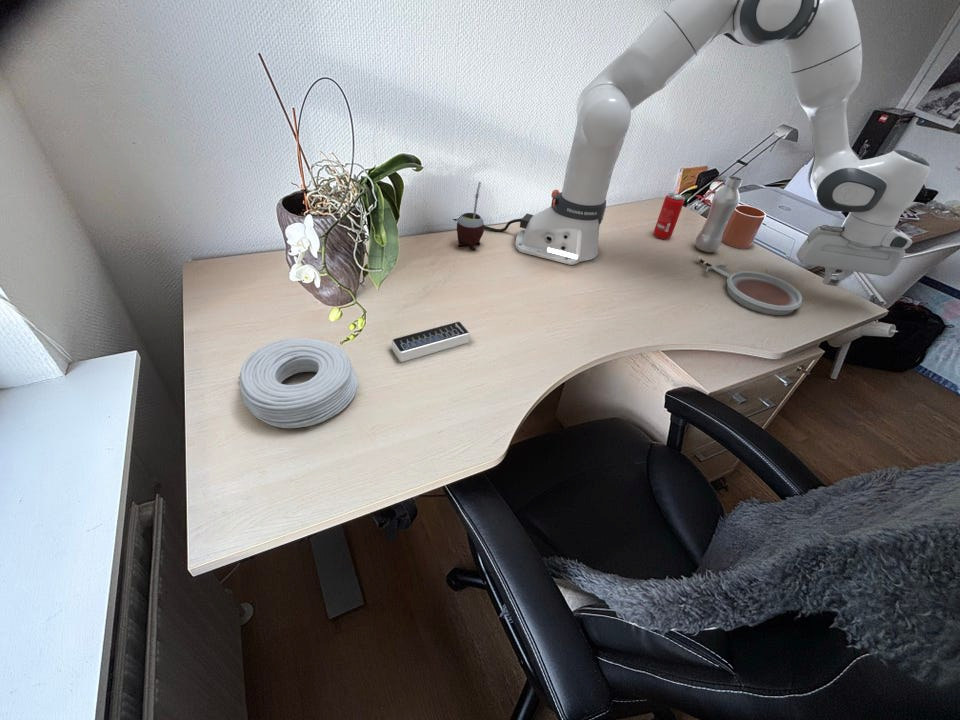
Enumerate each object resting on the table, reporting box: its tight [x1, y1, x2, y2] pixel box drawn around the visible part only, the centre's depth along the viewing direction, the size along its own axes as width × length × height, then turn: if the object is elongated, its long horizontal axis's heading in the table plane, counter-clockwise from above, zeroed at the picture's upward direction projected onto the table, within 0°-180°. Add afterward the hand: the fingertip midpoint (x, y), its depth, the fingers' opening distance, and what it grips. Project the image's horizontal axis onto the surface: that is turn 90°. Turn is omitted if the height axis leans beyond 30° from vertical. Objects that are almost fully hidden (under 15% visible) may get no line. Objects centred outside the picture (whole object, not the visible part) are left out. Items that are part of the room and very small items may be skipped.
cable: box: [238, 337, 358, 429], centre depth 74 cm, size 18×18×6 cm
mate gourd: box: [456, 181, 485, 252], centre depth 116 cm, size 8×8×15 cm
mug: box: [721, 204, 767, 250], centre depth 133 cm, size 12×9×10 cm
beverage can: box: [653, 192, 686, 240], centre depth 131 cm, size 5×5×12 cm
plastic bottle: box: [695, 175, 743, 253], centre depth 124 cm, size 6×7×20 cm
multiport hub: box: [391, 321, 470, 363], centre depth 87 cm, size 4×14×2 cm, turn 120°
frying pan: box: [695, 256, 803, 316], centre depth 114 cm, size 17×3×28 cm
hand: (829, 284), depth 110 cm, fingers closed
